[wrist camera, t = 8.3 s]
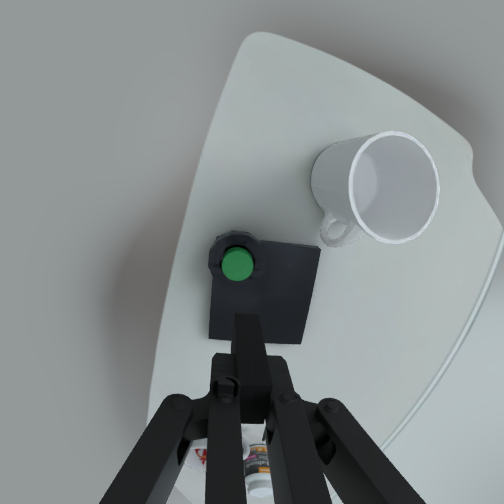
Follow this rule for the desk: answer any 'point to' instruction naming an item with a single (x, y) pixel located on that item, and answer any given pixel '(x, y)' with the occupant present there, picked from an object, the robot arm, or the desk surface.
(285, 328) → the scale
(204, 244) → the desk surface
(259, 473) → the pill bottle
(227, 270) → the tare button
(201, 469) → the cup
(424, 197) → the mug
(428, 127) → the desk surface
